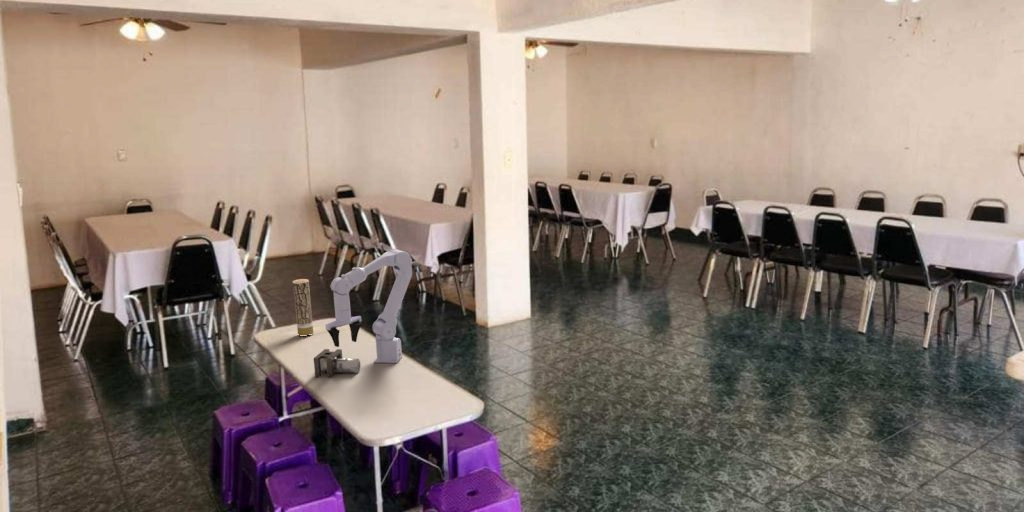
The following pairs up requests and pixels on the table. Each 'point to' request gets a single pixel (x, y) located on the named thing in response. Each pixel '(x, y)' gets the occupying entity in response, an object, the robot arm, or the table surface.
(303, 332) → the log
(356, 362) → the grey metal cylinder
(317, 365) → the brown bracket plates
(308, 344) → the table surface
